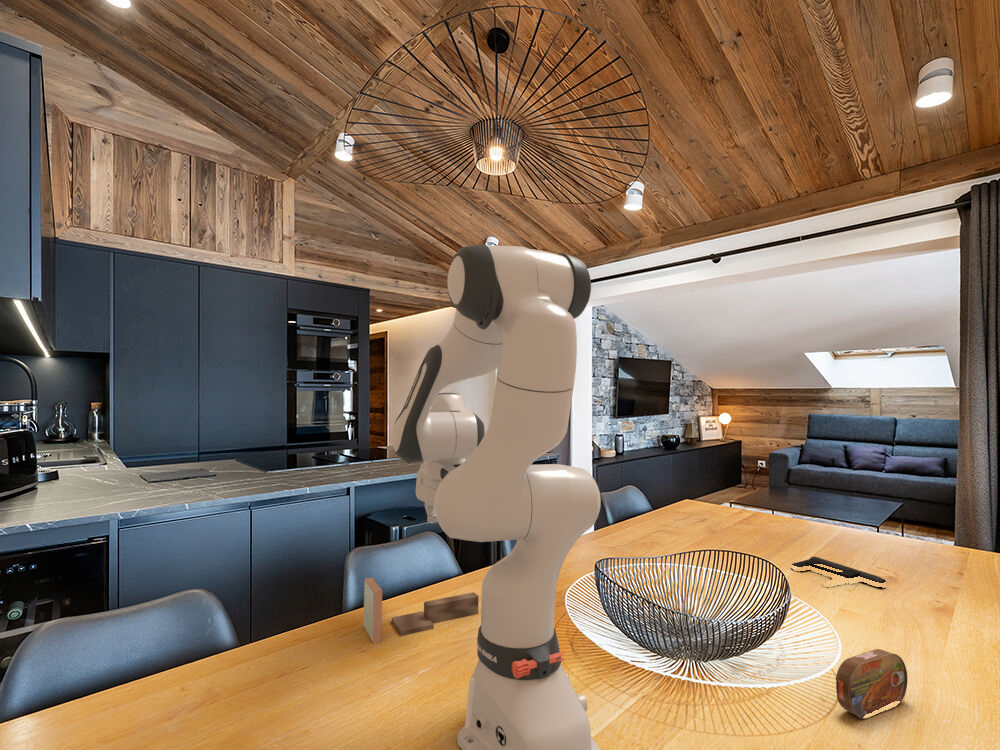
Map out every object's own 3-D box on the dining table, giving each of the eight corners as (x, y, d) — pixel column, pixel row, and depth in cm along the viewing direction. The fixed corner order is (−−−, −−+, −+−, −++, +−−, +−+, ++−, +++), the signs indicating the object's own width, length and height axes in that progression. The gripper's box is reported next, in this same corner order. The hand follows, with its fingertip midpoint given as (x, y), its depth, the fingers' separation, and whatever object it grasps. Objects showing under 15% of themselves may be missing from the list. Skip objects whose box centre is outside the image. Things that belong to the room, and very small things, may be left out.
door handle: (850, 588, 128) (889, 576, 134) (778, 563, 146) (815, 553, 152) (851, 601, 128) (890, 589, 134) (779, 575, 146) (816, 564, 152)
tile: (381, 641, 101) (382, 590, 101) (372, 643, 100) (373, 592, 100) (371, 624, 108) (372, 577, 108) (363, 626, 107) (364, 578, 107)
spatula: (469, 606, 118) (469, 588, 118) (482, 618, 112) (483, 600, 112) (391, 622, 109) (391, 603, 110) (401, 636, 103) (401, 616, 103)
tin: (851, 725, 78) (851, 669, 78) (831, 713, 81) (831, 659, 81) (910, 702, 84) (909, 651, 84) (889, 692, 87) (888, 642, 87)
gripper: (409, 459, 118) (408, 518, 118) (456, 476, 102) (454, 544, 102) (433, 457, 122) (432, 514, 122) (481, 473, 105) (480, 538, 106)
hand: (442, 528), depth 112 cm, fingers open, 8 cm apart
